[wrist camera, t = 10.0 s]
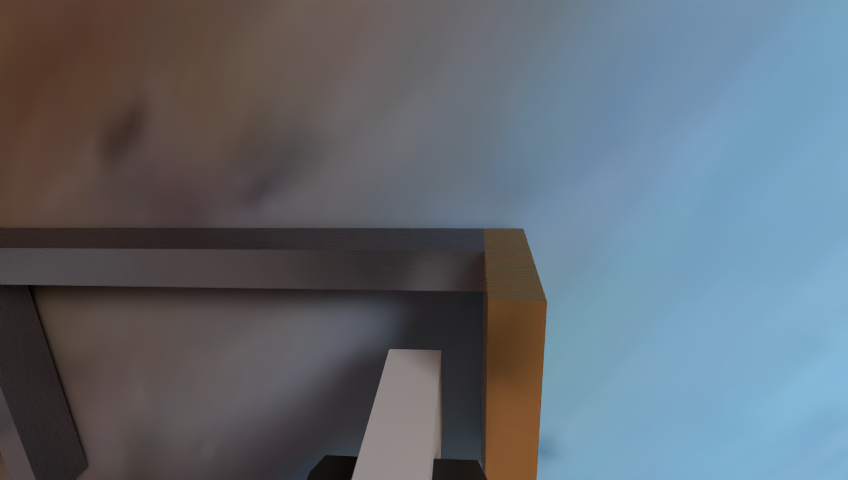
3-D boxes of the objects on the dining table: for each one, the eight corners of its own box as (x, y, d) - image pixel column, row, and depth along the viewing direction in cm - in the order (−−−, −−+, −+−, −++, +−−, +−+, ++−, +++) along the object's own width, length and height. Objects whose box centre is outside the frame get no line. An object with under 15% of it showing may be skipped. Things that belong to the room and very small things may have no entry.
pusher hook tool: (-145, 453, 21) (-327, 563, 16) (-264, 227, 17) (-537, 283, 13) (512, 492, 18) (526, 641, 13) (523, 228, 14) (546, 301, 10)
